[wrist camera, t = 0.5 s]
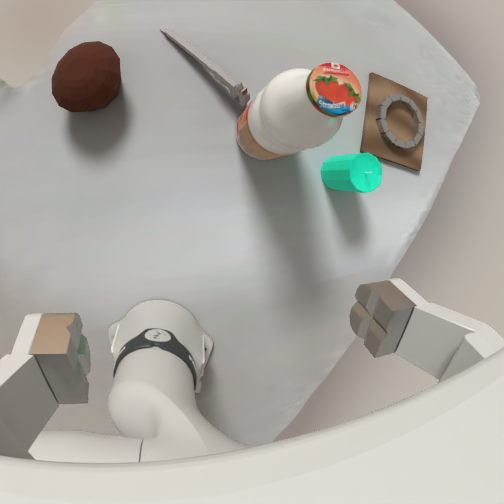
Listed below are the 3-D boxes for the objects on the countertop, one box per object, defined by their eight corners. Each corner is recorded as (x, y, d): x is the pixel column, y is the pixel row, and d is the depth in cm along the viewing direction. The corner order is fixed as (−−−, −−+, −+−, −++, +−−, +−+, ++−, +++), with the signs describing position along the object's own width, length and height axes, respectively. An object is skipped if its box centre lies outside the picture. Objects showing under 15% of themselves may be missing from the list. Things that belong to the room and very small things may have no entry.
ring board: (417, 170, 57) (420, 170, 56) (360, 151, 54) (362, 151, 53) (424, 98, 55) (427, 97, 54) (369, 73, 52) (372, 72, 51)
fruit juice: (235, 161, 51) (287, 140, 24) (232, 105, 49) (279, 33, 22) (292, 160, 52) (388, 144, 26) (288, 105, 50) (377, 47, 24)
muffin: (65, 65, 41) (44, 45, 32) (125, 49, 43) (114, 23, 33) (68, 128, 44) (44, 117, 35) (130, 111, 46) (118, 96, 36)
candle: (319, 188, 54) (352, 190, 43) (322, 153, 53) (355, 148, 42) (349, 192, 56) (386, 196, 44) (352, 159, 54) (390, 155, 43)
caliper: (246, 103, 49) (254, 94, 43) (241, 107, 49) (248, 98, 43) (164, 27, 44) (162, 10, 38) (159, 31, 44) (157, 14, 38)
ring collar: (415, 154, 56) (420, 154, 54) (373, 139, 53) (377, 138, 52) (420, 106, 54) (425, 105, 52) (378, 88, 51) (383, 86, 50)
